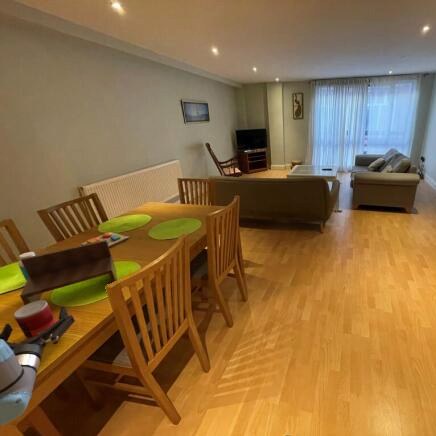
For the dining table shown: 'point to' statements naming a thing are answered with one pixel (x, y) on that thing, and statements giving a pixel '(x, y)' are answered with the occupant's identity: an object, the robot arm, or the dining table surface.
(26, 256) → the pill bottle
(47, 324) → the canned food
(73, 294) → the dining table surface
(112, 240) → the puzzle board
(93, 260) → the shelf
